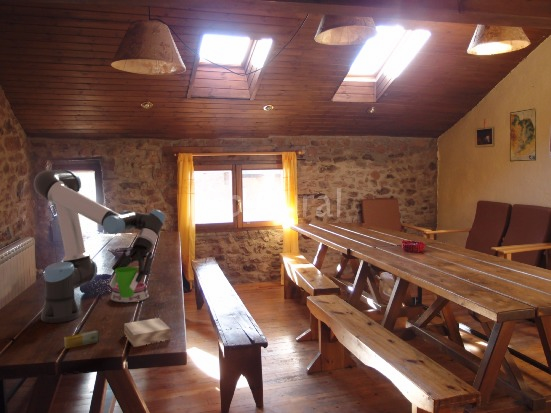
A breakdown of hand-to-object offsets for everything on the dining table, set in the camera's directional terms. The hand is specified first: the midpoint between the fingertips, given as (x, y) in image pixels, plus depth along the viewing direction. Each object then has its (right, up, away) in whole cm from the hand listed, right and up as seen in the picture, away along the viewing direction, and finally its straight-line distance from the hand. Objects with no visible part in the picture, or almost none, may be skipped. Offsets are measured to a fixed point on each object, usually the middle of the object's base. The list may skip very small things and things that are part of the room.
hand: (121, 287), depth 185 cm
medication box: (-12, -20, -10) cm, 25 cm away
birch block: (+11, -20, -2) cm, 22 cm away
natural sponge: (-17, -11, +75) cm, 78 cm away
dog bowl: (-12, -14, +49) cm, 52 cm away
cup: (+1, -4, +3) cm, 6 cm away
